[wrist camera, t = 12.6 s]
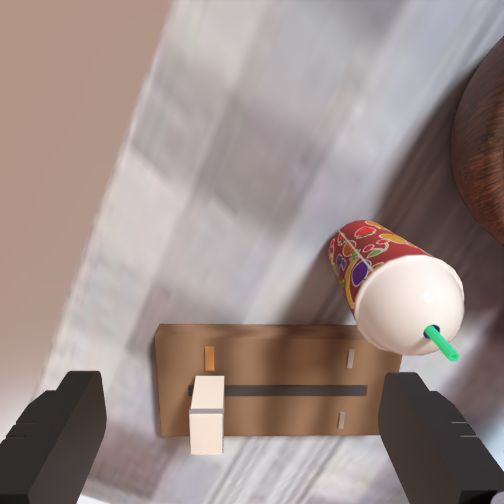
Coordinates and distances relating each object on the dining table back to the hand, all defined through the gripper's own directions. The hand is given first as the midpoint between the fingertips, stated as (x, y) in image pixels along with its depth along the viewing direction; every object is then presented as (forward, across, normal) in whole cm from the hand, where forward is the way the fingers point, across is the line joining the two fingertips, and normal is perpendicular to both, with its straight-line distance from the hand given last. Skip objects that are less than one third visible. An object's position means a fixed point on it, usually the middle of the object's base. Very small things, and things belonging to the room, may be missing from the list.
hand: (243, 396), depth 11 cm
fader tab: (+26, +3, +23) cm, 35 cm away
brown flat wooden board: (+30, -5, +23) cm, 38 cm away
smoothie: (+30, -13, +6) cm, 34 cm away
